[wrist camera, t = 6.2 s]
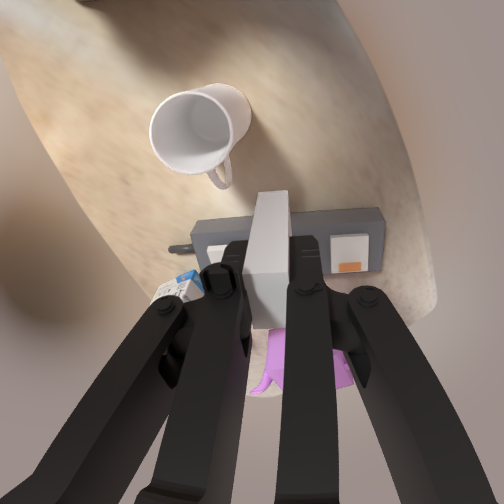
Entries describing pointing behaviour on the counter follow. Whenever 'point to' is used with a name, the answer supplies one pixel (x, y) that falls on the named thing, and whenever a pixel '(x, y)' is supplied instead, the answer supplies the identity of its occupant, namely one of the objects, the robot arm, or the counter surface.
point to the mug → (200, 130)
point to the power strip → (295, 233)
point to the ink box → (182, 287)
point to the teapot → (276, 364)
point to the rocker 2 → (349, 252)
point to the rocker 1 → (216, 253)
